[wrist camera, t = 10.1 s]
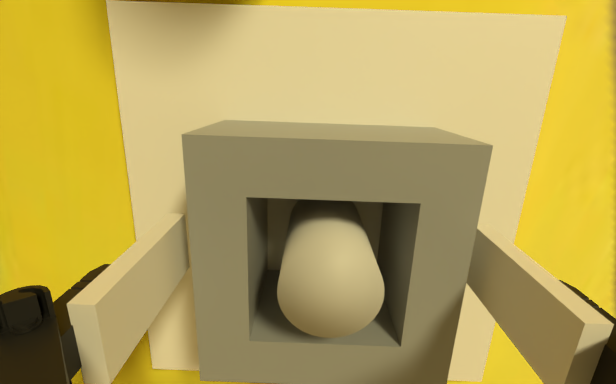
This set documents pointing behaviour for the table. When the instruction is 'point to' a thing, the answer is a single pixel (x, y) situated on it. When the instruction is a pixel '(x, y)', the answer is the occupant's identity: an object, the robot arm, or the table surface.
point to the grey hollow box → (342, 187)
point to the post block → (333, 110)
